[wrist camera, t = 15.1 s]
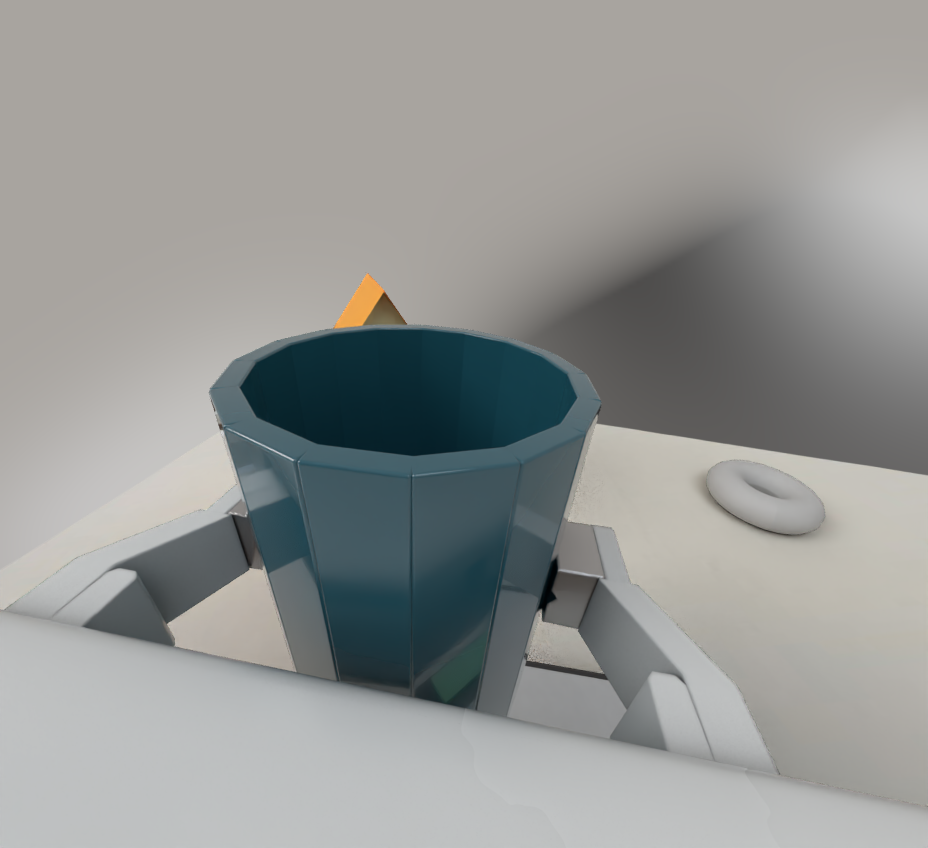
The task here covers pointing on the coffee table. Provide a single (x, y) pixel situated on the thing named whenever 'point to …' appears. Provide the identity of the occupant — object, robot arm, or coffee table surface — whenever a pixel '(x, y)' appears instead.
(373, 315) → the orange juice
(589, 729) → the scale
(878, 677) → the coffee table surface
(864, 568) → the coffee table surface
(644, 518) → the coffee table surface
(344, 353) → the cup
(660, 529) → the coffee table surface
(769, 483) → the donut
